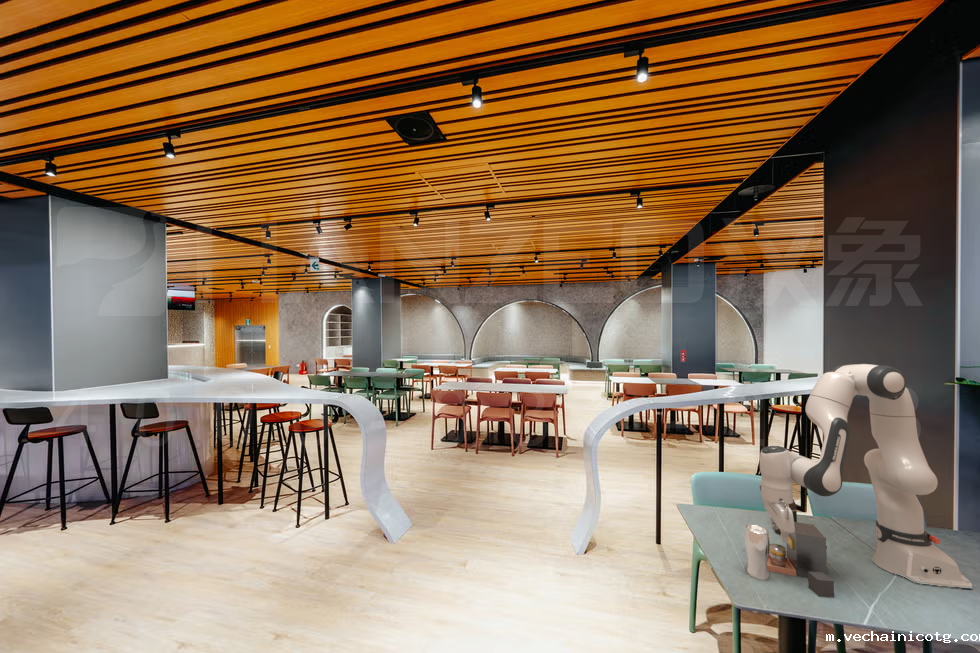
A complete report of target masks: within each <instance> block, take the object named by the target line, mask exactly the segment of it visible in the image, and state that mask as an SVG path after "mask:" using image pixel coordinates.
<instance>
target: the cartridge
mask: <svg viewBox="0 0 980 653" xmlns="http://www.w3.org/2000/svg"><path fill="white" fill-rule="evenodd" d="M769 555H770V564H771V565H773V566H778V567H783V568H786V558H787V550H786V548H785V546H783V545H781V544H778V543H770V550H769Z"/></svg>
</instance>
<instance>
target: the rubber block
mask: <svg viewBox="0 0 980 653" xmlns="http://www.w3.org/2000/svg"><path fill="white" fill-rule="evenodd" d="M807 579H808V580H807V581H808V582H807V584H808V589H810V590H811V591H812V592H813V594H815V595H816V596H818V597H820V598H821V597H822V598H833V599H834V598H835V581H834V580H833V579H832V578H831V577H830V576H828V574H827V575H826V574H824V573H823V572H810V571H808V578H807Z"/></svg>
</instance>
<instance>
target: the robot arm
mask: <svg viewBox="0 0 980 653" xmlns="http://www.w3.org/2000/svg"><path fill="white" fill-rule="evenodd" d="M905 378H906V377H905V376H904V374H903V372H901V370H899V369H897V368H895V367H892V366H889V365H882V364H881V365H878V364H870V363H869V364H868V363H860V364H859V363H858V364H857V363H856V364H849V363H847V364H839V365H836V366H835V367H833V368H832V369H830V371H828V372H827V371H826V372H825V373H823V374H822V375H820V377H819V378H818V380H817V381H816V383H815V385H814V386H813V387H812V390H811V392H810V393H809V396H808V399H807V400H806V401H807V402H806V404H805V413H806V416H807V417H808V419H809V421H811V422H812V423H813V424H815V425H816V426H817V427H818V428H819V429H820V430H821V431H822V433H823V442H822V446H821V451H820V454H819V455H820V456H819V459H818V460H813V459H811V458H808V457H806V456H803V455H801V454H800V455H799V454H797V453H794V452H792V451H790V450H788V449H787V448H786V447H783V446H780V445H768V446H765V447H763V448H762V449H761V450H760V453H759V471H760V472H759V473H760V474H761V480H760V484H759V491H760V492H761V498H762V504H763V507H764V510H765V511H766V513H767V514H768V515H769V519H770V522H771V523H770V524H771V528H772V529H773V530H775V529H777V530H778V529H780V531H781V535H779V536H780V538H779V539H780V541H781V542H783V543H788V536H789V534H794V533H795V526H794V518H793V513H792V510H791V509H790V508H789V504H791V503H793V499H794V494H793V491H794V490H793V484H797V485H799V486H801V487H803V488H806V489H808V490H809V491H811V492H813V493H815V495H818V496H821V497H831V496H833V495H835V494H837V493H838V492H839V491H841V489H842V487H843V480H844V479H843V470H844V464H845V461H846V460H845V459H846V456H847V451H848V446H849V442H850V436H851V426H850V424H849V423H848V415H849V411H850V408H851V405H852V403H853V400H854V397H856V395H857V396H864V397H867V398H868V400H869V408H868V409H869V416H870V418H869V419H870V427H871V428H870V429H871V435H872V437H873V439H874V440H875V442H876V445H877V446H878V448H873V449H870V450H868V451H867V452H866V453H865V454H864V457H863V462H864V465H865V467H866V468H867V470H868V474H869V478H870V481H871V485H872V489H873V492H874V496H875V502H876V503H875V504H876V517H877V518H876V520H875V537H876V545H875V551H874V554H873V557H872V559H871V560H872V562H873V563H874V564H875V565H876V566H877V567H879V568H881V569H883V570H885V571H887V572H888V573H890V574H893V573H894V574H893V575H896V574H899V575H903V576H905V577H907V578H909V579H911V580H913V581H915V582H919V583H928V584H933V585H941V586H951V587H952V586H953V587H972V586H973V583H972V582H971V581H970V580H969V579H968V578H967V577H966V578H965V575H963V574H962V573H961V570H960V568H959V566H958V564H957V562H955V560H954V559H953V558H952V557H950V556H949V555H948V554H946V553H945V552H944V551H943V550H941V549H940V548H939V547H937V546H936V545H939V544H941V542H942V541H941V539H939V538H938V537H936V536H935V535H931V534H930V533H929V532H927V531H925V527H924V509H923V506H922V505H921V502H920V501H919V500H918V497H917V495H918V496H925V495H927V496H928V495H929V494H931V493H933V492H935V490H936V489H937V488H938V484H939V483H938V482H939V481H938V478H937V476H936V474H935V473H934V472H933V470H932V469H931V467H930V466H929V463H928V461H927V458H926V457H925V454H924V451H923V449H922V445H921V443H920V440H919V436H918V428H917V418H916V413H915V412H916V411H915V406H914V402H913V399H912V395H911V393H910V391H909V388H907V387H906V386H907V381H906V379H905ZM934 544H935V545H934ZM961 574H962V575H961ZM922 580H923V581H922ZM966 581H968V583H966ZM915 582H914V583H915ZM941 586H940V587H941ZM951 587H950V588H951Z"/></svg>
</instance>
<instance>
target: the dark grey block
mask: <svg viewBox="0 0 980 653" xmlns="http://www.w3.org/2000/svg"><path fill="white" fill-rule="evenodd" d="M794 526H795V533H794V534H789V536H788V543H786V542H785V543H786V558H788V559H789V560H790V562H791V563H792V565H793V567H794V568H795V570H796V577H797V578H803V579H808V571H810V572H823V573H824V574H826V575H827V576H828V565H827V563H828V561H827V558H828V557H827V556H828V555H827V550H828V546H827V537H825V536H824V535H823V533H822V532H821V531H820V530H819V529H818V528H817V527H816V526H815V525H814V524H812V523H811V524H810V523H804V522H798V521H797V522H794Z"/></svg>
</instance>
